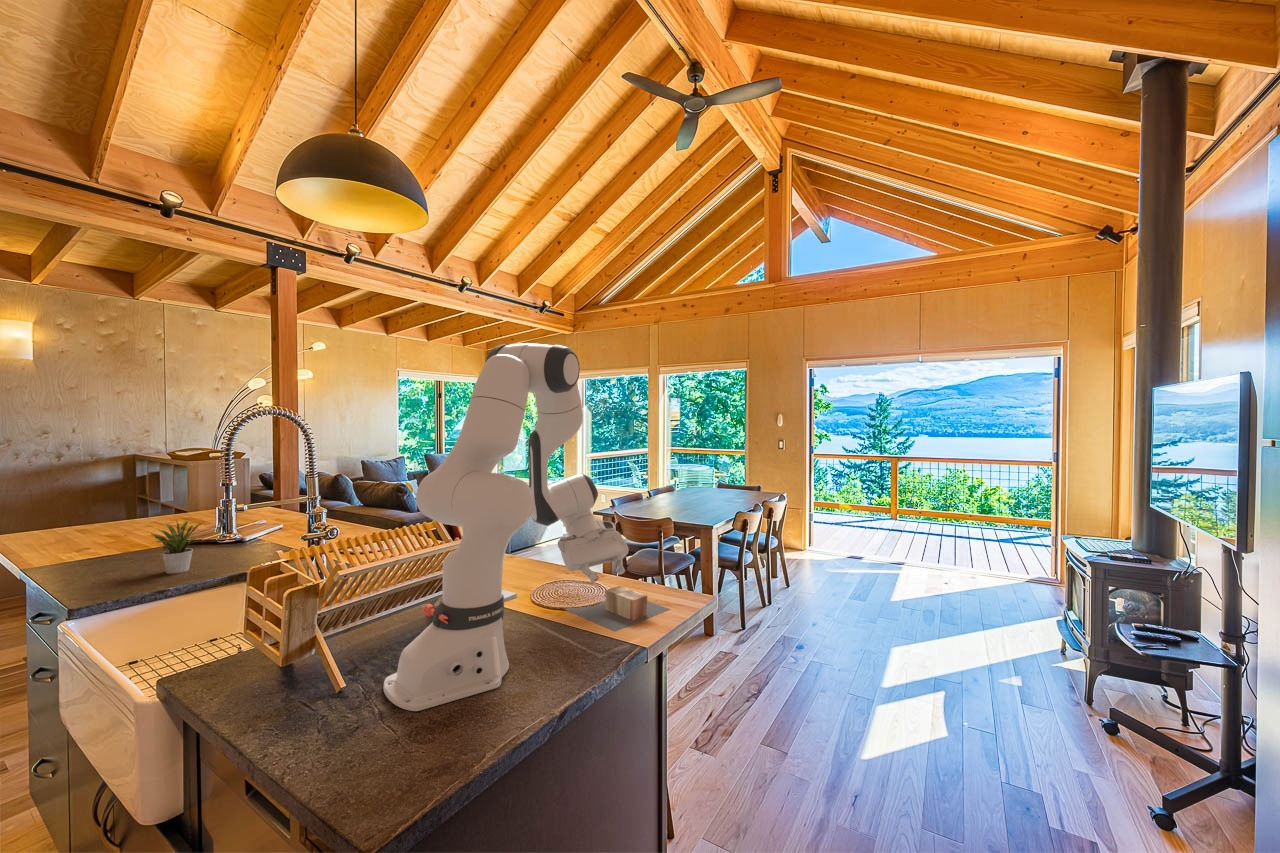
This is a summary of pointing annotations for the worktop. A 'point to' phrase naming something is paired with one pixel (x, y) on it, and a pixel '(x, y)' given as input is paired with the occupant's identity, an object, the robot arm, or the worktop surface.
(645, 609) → the beige brown block
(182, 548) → the house plant
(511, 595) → the hard drive
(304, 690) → the worktop surface
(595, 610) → the rubber mat
